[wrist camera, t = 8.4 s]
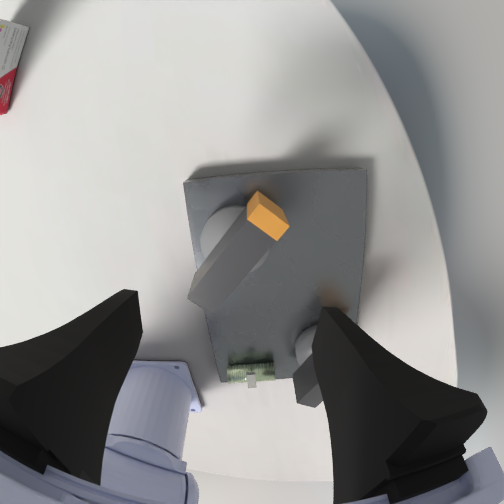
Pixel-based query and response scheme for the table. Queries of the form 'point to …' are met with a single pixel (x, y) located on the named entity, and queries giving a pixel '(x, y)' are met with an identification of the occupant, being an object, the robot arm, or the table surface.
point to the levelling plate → (284, 265)
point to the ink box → (9, 58)
